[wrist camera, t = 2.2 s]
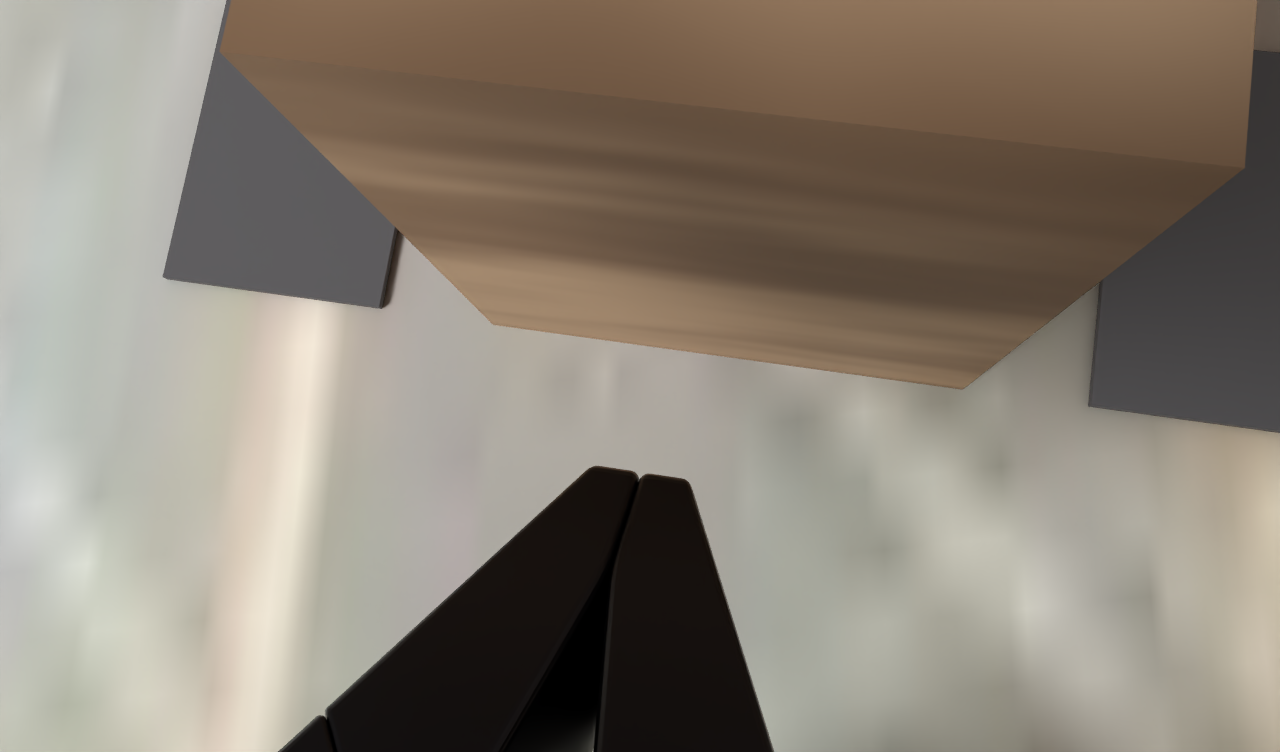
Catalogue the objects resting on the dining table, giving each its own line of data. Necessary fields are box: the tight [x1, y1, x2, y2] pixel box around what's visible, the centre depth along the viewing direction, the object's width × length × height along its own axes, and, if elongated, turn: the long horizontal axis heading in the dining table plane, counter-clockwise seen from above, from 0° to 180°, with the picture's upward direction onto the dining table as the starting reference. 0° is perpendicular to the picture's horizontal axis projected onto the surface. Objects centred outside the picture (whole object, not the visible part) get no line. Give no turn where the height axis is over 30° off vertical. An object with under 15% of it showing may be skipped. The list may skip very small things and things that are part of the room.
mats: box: [163, 0, 1280, 433], centre depth 24 cm, size 8×25×1 cm, turn 81°
